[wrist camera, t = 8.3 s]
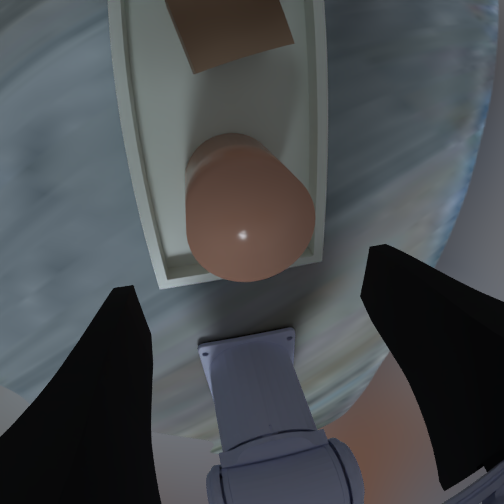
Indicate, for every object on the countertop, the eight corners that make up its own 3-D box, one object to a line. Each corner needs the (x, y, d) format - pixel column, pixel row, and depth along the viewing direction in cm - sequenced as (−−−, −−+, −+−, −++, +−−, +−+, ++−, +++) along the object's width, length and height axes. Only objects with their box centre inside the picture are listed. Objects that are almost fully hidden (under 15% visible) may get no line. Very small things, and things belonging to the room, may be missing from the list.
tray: (312, 246, 21) (322, 261, 20) (160, 271, 20) (159, 289, 18) (308, -20, 12) (321, -28, 10) (114, -7, 10) (107, -15, 9)
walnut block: (269, 49, 13) (294, 43, 10) (193, 74, 13) (196, 73, 10) (244, -16, 11) (262, -41, 8) (166, 7, 11) (161, -13, 8)
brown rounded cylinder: (278, 210, 18) (314, 268, 14) (193, 226, 18) (200, 292, 13) (271, 127, 16) (314, 156, 11) (176, 142, 15) (173, 179, 10)
